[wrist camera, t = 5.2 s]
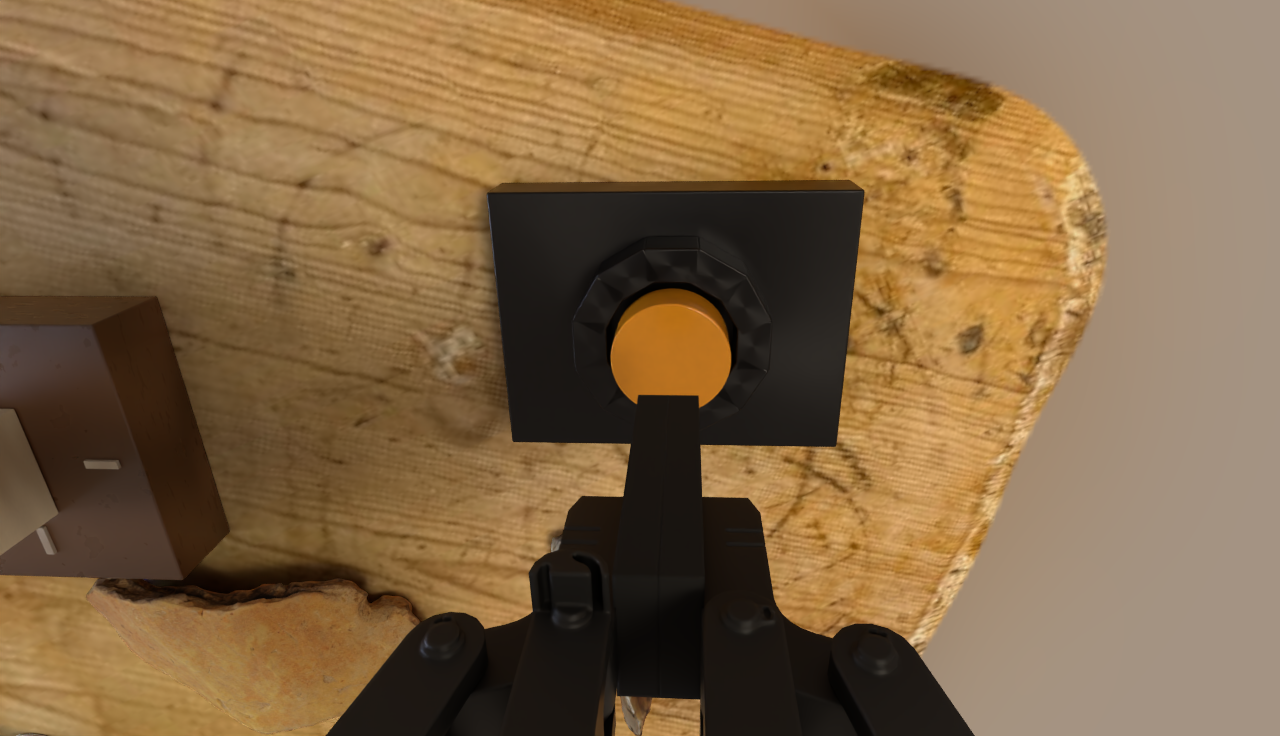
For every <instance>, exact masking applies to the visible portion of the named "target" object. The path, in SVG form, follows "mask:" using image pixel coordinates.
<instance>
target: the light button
mask: <svg viewBox="0 0 1280 736" xmlns="http://www.w3.org/2000/svg"><path fill="white" fill-rule="evenodd" d="M611 368H612V372H613V375H614V378H615V380H616V382H617V384H618V386H619V387H620V389H621V390H622V391H623V393H624V394H625V395H626V396H627V397H628V398H629V399H630V400H632V401H633V402H634V403H636V404H637V400H638V395H699V408H700V407H702V406H704V405H705V404H707V403H708V402H710V401H711V400H712V399H713V398H714V397H715V396H716V395H717V394H718V393H719V392H720V391H721V389H722V388H723V386H724V385H725V383H726V381H727V378H728V376H729V372H730V368H731V350H730V344H729V337H728V332H727V327H726V324H725V322H724V320H723V318H722V316H721V314H720V313H719V311H718V310H717V309H716V308H715V307H714V306H713V304H711V303H710V302H709V301H708V300H707V299H705V298H703V297H702V296H700V295H698V294H696V293H694V292H691V291H688V290H683V289H675V288H667V289H660V290H655V291H652V292H649V293H647V294H645V295H643V296H641V297H640V298H638V299H637V300H635V301H634V302H633V303H632V304H631V305H630V306H629V307H628V308H627V309H626V310H625V312H624V313H623V315H622V316H621V318H620V320H619V322H618V325H617V329H616V332H615V336H614V340H613V344H612V349H611Z"/></svg>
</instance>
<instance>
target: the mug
mask: <svg viewBox="0 0 1280 736" xmlns="http://www.w3.org/2000/svg"><path fill="white" fill-rule="evenodd" d="M17 736H45V735H40V734H21V735H17Z"/></svg>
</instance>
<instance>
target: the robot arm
mask: <svg viewBox="0 0 1280 736" xmlns="http://www.w3.org/2000/svg"><path fill="white" fill-rule="evenodd" d="M529 579H530V589H531V598H532V607H533V612H532V613H531V614H529V615H528V616H526V617H524V618H522V619H520V620H518V621H515V622H512V623H509V624H506V625H501V626H497V627H492V628H488V629H484V627H483V626H482V624H481V623H480V622H479V621H478V619H477V618H475V617H473V616H470V615H468V614H466V613H456V612H448V613H443V614H439V615H434V616H432V617H430V618H428V619H426V620H424V621H422V622H420V623H419V624H418V625H417V626H416V627H414V628H413V629H412V630H411V631H410V632H409V633H408V634H407V635H406V636H405V638H404V639H403V640H402V641H401V643H400V644H399V645H398V646H397V648H396V649H395V650H394V651H393V653H392V654H391V655H390V656H389V658H388V659H387V660H386V661H385V663H384V664H383V665H382V666H381V668H380V669H379V670H378V671H377V673H376V674H375V675H374V676H373V678H372V679H371V680H370V681H369V683H368V684H367V685H366V686H365V688H364V689H363V690H362V691H361V692H360V694H359V695H358V696H357V697H356V699H355V700H354V701H353V702H352V704H351V705H350V706H349V707H348V709H347V710H346V711H345V712H344V714H343V715H342V716H341V717H340V719H339V720H338V721H337V722H336V724H335V725H334V726H333V727H332V729H331V730H330V731H329V732H328V734H327V735H326V736H615V727H616V717H615V698H616V689H617V696H627V697H652V698H677V699H700V736H974V734H973V733H972V731H971V730H970V728H969V727H968V725H967V724H966V723H965V721H964V720H963V718H962V717H961V715H960V714H959V712H958V711H957V710H956V708H955V707H954V705H953V704H952V702H951V701H950V700H949V698H948V697H947V695H946V694H945V692H944V691H943V689H942V688H941V686H940V685H939V684H938V682H937V681H936V679H935V678H934V677H933V675H932V674H931V672H930V671H929V669H928V668H927V666H926V665H925V663H924V662H923V660H922V659H921V658H920V656H919V655H918V653H917V652H916V650H915V649H914V648H913V647H912V646H911V645H910V644H909V643H908V642H907V641H906V640H905V639H904V638H903V637H902V636H900V635H899V634H897V633H895V632H893V631H892V630H890V629H888V628H885V627H881V626H878V625H874V624H853V625H850V626H847V627H844V628H842V629H841V630H840V631H839V632H838V633H837V634H836V635H835V636H834V637H833V638H830V637H826V636H823V635H819V634H816V633H813V632H810V631H807V630H805V629H802V628H800V627H798V626H797V625H795V624H793V623H792V622H790V621H789V620H788V619H787V618H786V617H785V616H784V615H783V614H782V613H781V612H780V610H779V608H778V607H777V606H776V603H775V600H774V596H773V590H772V584H771V577H770V571H769V565H768V559H767V552H766V547H765V540H764V534H763V527H762V521H761V515H760V512H759V511H758V510H757V508H756V507H755V506H754V505H753V504H752V502H751V501H750V500H749V499H748V498H723V497H702V480H701V449H700V419H699V395H638V400H637V407H636V414H635V420H634V427H633V434H632V441H631V448H630V455H629V462H628V469H627V475H626V482H625V489H624V496H623V497H599V496H582V497H581V498H580V499H579V500H578V501H577V502H576V503H575V504H574V505H573V506H572V507H571V508H570V509H569V511H568V515H567V518H566V522H565V526H564V530H563V534H562V538H561V544H560V545H559V549H558V550H556V551H553V552H551V553H548V554H545V555H544V556H543V557H541V558H540V559H539V560H538V561H536V562H535V563H534V565H533V566H532V568H531V570H530V572H529Z"/></svg>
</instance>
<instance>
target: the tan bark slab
mask: <svg viewBox="0 0 1280 736" xmlns="http://www.w3.org/2000/svg"><path fill="white" fill-rule="evenodd" d="M367 596H368V593H367V592H366V591H364V590H362V589H360V588H359V587H358V586H357V585H356V583H354V582H352V581H348V580H345V579H340V578H338V579H333V580H329V581H306V582H292V583H290V584H289V585H287V586H284V585H282V584H281V583H279V584H262V585H260V586H259V587H257V588H255V589H253V590H247V591H244V590H237V591H233V592H231V593H229V594H222V593H216V592H211V591H207V590H203V589H201V588H199V587H197V586H181V587H173V586H164V587H156V586H154V585H152V584H150V583H148V582H147V581H145V580H143V579H124V578H100V579H98V580H97V581H96V582H95V584H94V585H93V587H92V588H91V590H90V591H89V592H88V593H87V595H86V598H87V600H88V601H89V602H90V603H91V604H92V606H93V607H94V608H95V609H96V610H97V611H98V612H99V613H101V614H102V615H103V616H104V617H105V618H106V619H107V620H108V621H109V622H110V624H111V625H112V626H113V627H114V628H115V630H116V631H117V633H118V635H119V636H120V637H121V639H122V640H123V641H124V643H125V644H126V646H127V647H128V648H129V649H130V650H131V651H132V652H133V653H134V654H136V655H137V656H138V657H140V658H141V659H142V660H143V661H145V662H146V663H147V664H149V665H151V666H152V667H154V668H155V669H157V670H159V671H161V672H163V673H165V674H167V675H170V676H171V677H172V678H173V679H174V680H176V681H177V682H179V683H181V684H182V685H184V686H187V687H189V688H190V689H192V690H193V691H195V692H196V693H198V694H199V695H201V696H202V697H204V698H205V699H206V700H207V701H208V702H209V703H210V704H211V705H213V706H214V707H215V708H217V709H219V710H220V711H222V712H224V713H226V714H227V715H229V716H230V717H232V718H233V719H235V720H236V721H238V722H239V723H241V724H243V725H244V726H246V727H248V728H250V729H251V730H254V731H257V732H260V733H265V734H271V733H276V732H281V731H291V730H293V729H297V728H302V727H307V726H312V725H315V724H317V723H319V722H322V721H325V720H328V719H331V718H334V717H338V716H341V715H343V714H344V712H345V711H346V710H347V709H348V707H349V706H350V705H351V704H352V702H353V701H354V700H355V699H356V697H357V696H358V695H359V694H360V692H361V691H362V690H363V689H364V688H365V686H366V685H367V684H368V683H369V681H370V680H371V679H372V678H373V676H374V675H375V674H376V673H377V671H378V670H379V669H380V668H381V666H382V665H383V664H384V663H385V661H386V660H387V659H388V658H389V656H390V655H391V654H392V653H393V651H394V650H395V649H396V648H397V646H398V645H399V644H400V643H401V641H402V640H403V639H404V638H405V636H406V635H407V634H408V633H409V632H410V631H411V630H412V629H413V628H414V627H416V626H417V625H418V624H419V623H420V620H419V619H418V618H417V617H416V616H415V615H414V614H413V613H412V605H411V604H410V603H409V601H408V600H407V599H405V598H403V597H400V596H388V595H385V596H382V597H380V598H379V599H378V600H376V601H374V602H372V603H368V601H367V599H366V598H367Z"/></svg>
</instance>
